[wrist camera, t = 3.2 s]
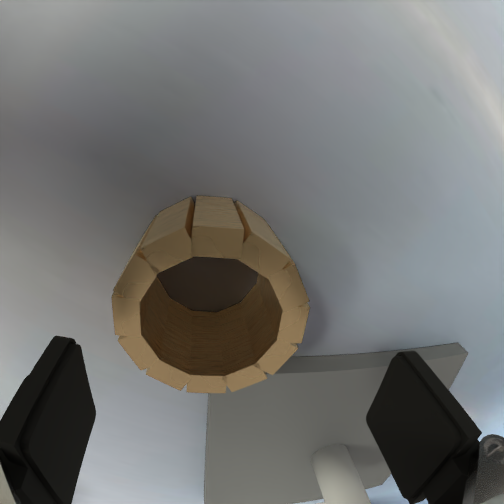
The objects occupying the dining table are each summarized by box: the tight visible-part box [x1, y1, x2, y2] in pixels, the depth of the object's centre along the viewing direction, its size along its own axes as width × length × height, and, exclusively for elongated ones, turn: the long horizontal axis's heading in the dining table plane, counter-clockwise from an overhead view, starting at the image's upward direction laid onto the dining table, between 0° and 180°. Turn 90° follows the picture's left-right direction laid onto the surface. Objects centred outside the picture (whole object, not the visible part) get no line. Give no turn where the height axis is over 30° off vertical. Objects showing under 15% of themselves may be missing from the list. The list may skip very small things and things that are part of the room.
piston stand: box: [204, 343, 468, 504], centre depth 19 cm, size 19×19×8 cm
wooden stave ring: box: [112, 195, 310, 393], centre depth 13 cm, size 7×7×5 cm
